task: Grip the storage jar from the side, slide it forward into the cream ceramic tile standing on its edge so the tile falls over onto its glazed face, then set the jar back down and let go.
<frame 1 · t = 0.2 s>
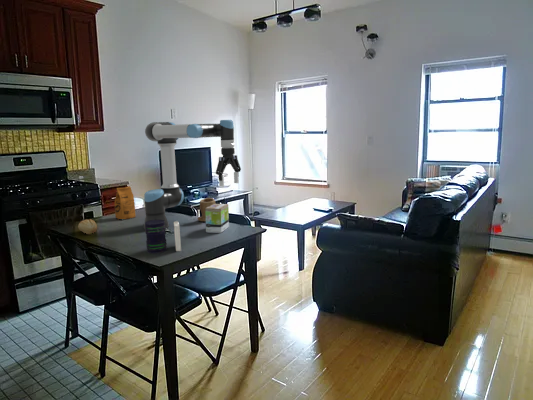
hand: (229, 184, 232), 28 cm above the table, tool pointing down, fingers open, 13 cm apart
coffee package: (125, 218, 282), on the table
tile: (178, 248, 206), on the table
tea box: (218, 230, 242), on the table
stone cup: (209, 220, 267), on the table
bread roll: (88, 232, 245), on the table
storage jar: (157, 250, 204), on the table
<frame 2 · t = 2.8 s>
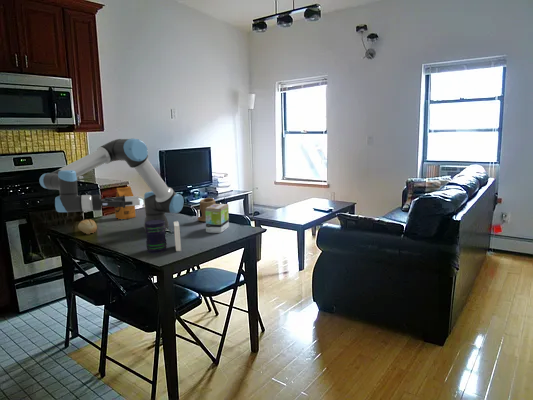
hand: (139, 200, 198), 26 cm above the table, tool horizontal, fingers open, 13 cm apart
nothing on the table moved.
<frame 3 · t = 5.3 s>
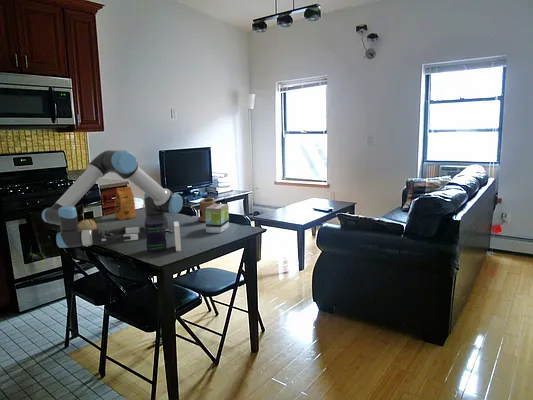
hand: (138, 233, 200), 10 cm above the table, tool horizontal, fingers open, 13 cm apart
nothing on the table moved.
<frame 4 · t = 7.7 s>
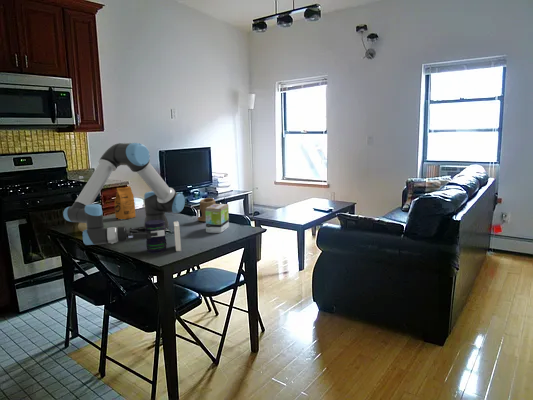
hand: (164, 230, 203), 10 cm above the table, tool horizontal, fingers closed on storage jar, 10 cm apart
storage jar: (157, 250, 204), on the table, touching gripper
everything else where it was.
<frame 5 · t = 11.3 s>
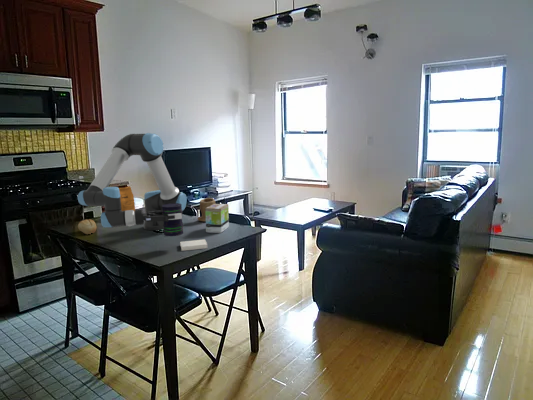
hand: (181, 213, 204), 18 cm above the table, tool horizontal, fingers closed on storage jar, 10 cm apart
tile: (180, 246, 207), point 1 cm above the table, tilted 90°
storage jar: (173, 234, 204), point 8 cm above the table, touching gripper
everything else where it was.
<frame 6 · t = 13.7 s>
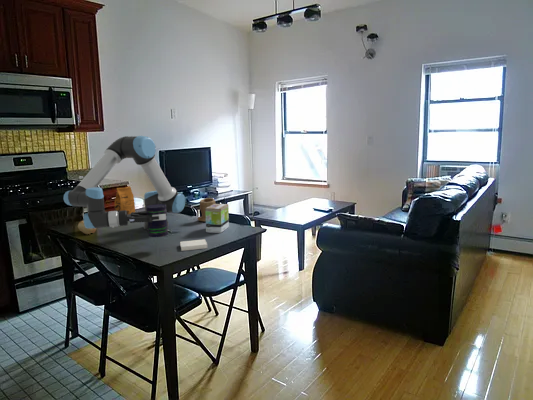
hand: (165, 214, 202), 18 cm above the table, tool horizontal, fingers closed on storage jar, 10 cm apart
storage jar: (158, 235, 203), point 8 cm above the table, touching gripper
everything else where it was.
when the fingers open (11 cm above the table, at t = 15.8 s): storage jar stays where it is, on the table.
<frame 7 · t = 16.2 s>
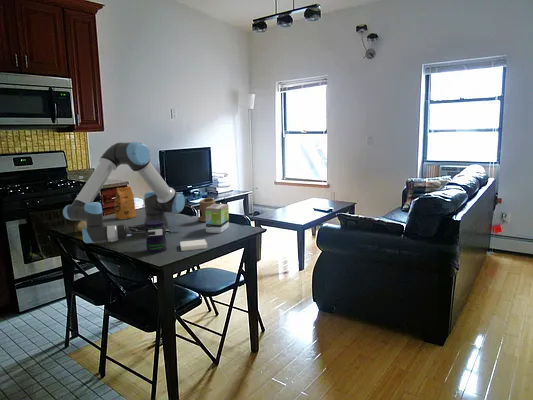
hand: (162, 228, 203), 11 cm above the table, tool horizontal, fingers open, 13 cm apart
storage jar: (157, 250, 204), on the table
everything else where it was.
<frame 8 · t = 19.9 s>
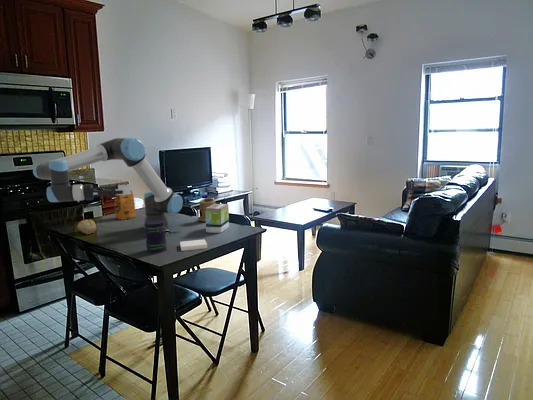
hand: (131, 189, 196), 32 cm above the table, tool horizontal, fingers open, 13 cm apart
nothing on the table moved.
at the end: tile tilted 90°; storage jar tilted 0°; the gripper is holding nothing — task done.
